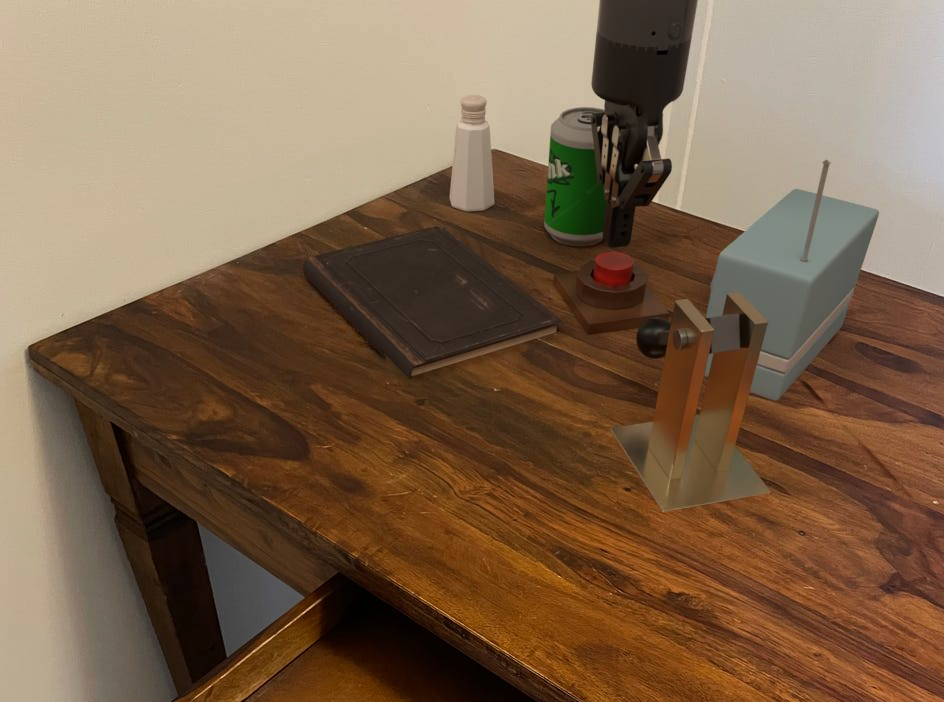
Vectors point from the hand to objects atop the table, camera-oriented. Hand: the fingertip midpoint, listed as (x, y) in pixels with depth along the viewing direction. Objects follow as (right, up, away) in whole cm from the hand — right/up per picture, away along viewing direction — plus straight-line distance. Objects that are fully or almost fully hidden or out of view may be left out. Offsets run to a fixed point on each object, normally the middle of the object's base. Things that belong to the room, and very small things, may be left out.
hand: (616, 243), depth 87 cm
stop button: (0, -2, +3) cm, 3 cm away
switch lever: (+3, -15, -15) cm, 22 cm away
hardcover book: (-18, -4, +6) cm, 19 cm away
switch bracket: (+4, -23, -12) cm, 26 cm away
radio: (+14, -11, 0) cm, 17 cm away
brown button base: (0, -5, +5) cm, 7 cm away
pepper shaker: (-13, +14, +22) cm, 30 cm away
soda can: (-2, +8, +17) cm, 19 cm away
